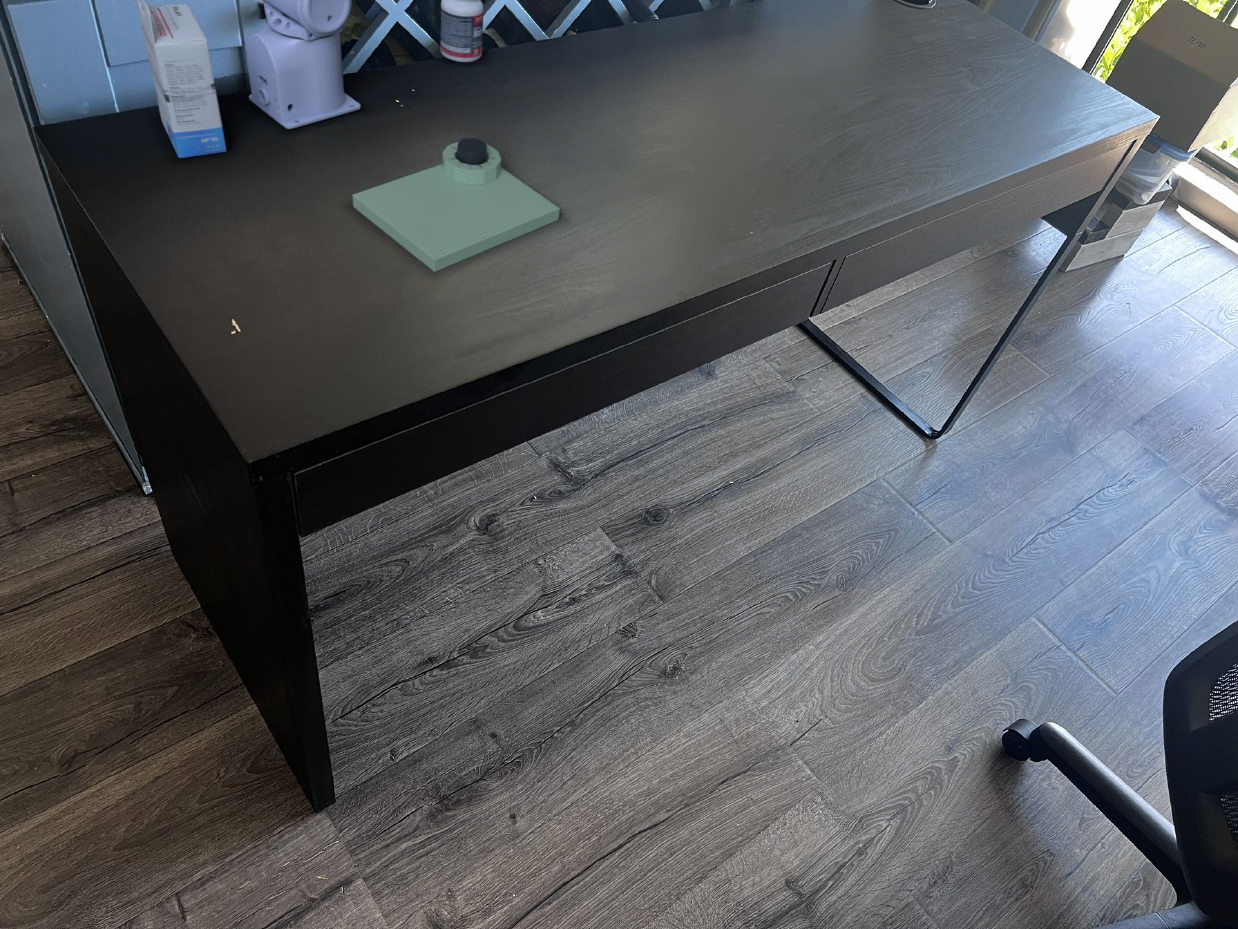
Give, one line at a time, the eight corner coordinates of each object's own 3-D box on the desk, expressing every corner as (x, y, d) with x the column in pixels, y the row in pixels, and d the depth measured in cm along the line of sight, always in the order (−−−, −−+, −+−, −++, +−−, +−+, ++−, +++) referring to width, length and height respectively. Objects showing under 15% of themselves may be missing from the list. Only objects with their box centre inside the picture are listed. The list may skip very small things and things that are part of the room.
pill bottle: (479, 66, 118) (481, -8, 112) (437, 59, 118) (437, -15, 111) (484, 48, 122) (487, -24, 115) (443, 42, 121) (444, -31, 115)
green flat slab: (434, 272, 88) (434, 245, 86) (350, 204, 94) (348, 177, 92) (558, 220, 97) (561, 194, 95) (475, 161, 103) (476, 135, 101)
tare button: (469, 169, 97) (470, 155, 95) (451, 156, 98) (451, 142, 97) (492, 161, 98) (492, 147, 97) (473, 148, 99) (474, 134, 98)
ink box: (229, 153, 97) (204, 6, 86) (178, 159, 95) (145, 10, 84) (209, 113, 102) (182, -31, 91) (159, 118, 99) (126, -28, 89)
